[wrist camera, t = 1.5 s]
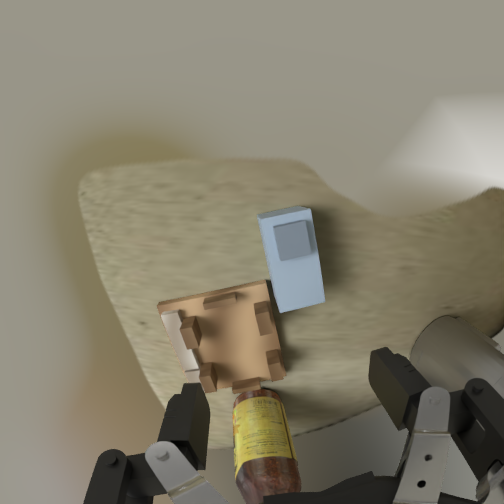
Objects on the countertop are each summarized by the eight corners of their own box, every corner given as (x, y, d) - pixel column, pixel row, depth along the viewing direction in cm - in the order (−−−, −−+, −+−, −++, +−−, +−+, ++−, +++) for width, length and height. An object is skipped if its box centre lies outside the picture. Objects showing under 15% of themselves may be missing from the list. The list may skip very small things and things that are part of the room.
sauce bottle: (222, 400, 30) (217, 547, 10) (264, 377, 29) (288, 536, 10) (253, 425, 31) (265, 555, 12) (293, 405, 30) (327, 540, 11)
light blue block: (298, 205, 25) (313, 209, 20) (312, 284, 27) (328, 306, 22) (256, 214, 25) (261, 220, 20) (273, 293, 27) (281, 318, 22)
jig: (265, 279, 26) (269, 292, 23) (285, 370, 29) (289, 389, 26) (159, 302, 26) (149, 317, 23) (193, 386, 29) (189, 406, 26)
